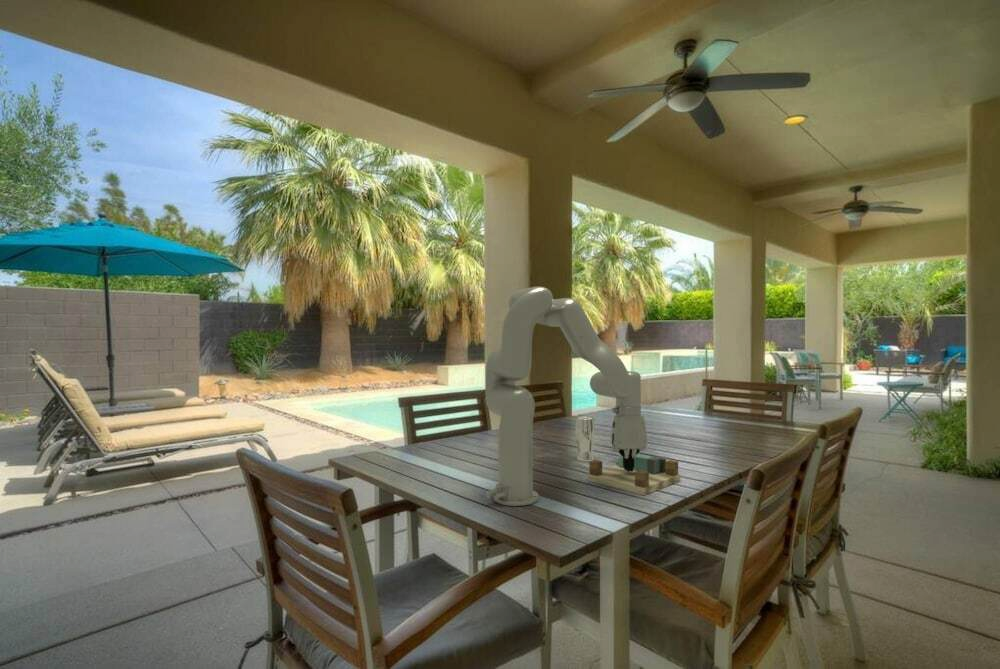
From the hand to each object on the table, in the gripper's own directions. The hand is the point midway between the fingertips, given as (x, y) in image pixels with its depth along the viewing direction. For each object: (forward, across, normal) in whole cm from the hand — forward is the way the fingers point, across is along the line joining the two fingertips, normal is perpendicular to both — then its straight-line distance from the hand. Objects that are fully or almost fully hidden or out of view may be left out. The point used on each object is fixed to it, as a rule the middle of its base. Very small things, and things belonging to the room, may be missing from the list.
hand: (628, 470), depth 159 cm
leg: (+1, +5, +4) cm, 7 cm away
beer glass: (+3, -4, +27) cm, 28 cm away
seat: (+3, +1, -1) cm, 4 cm away
